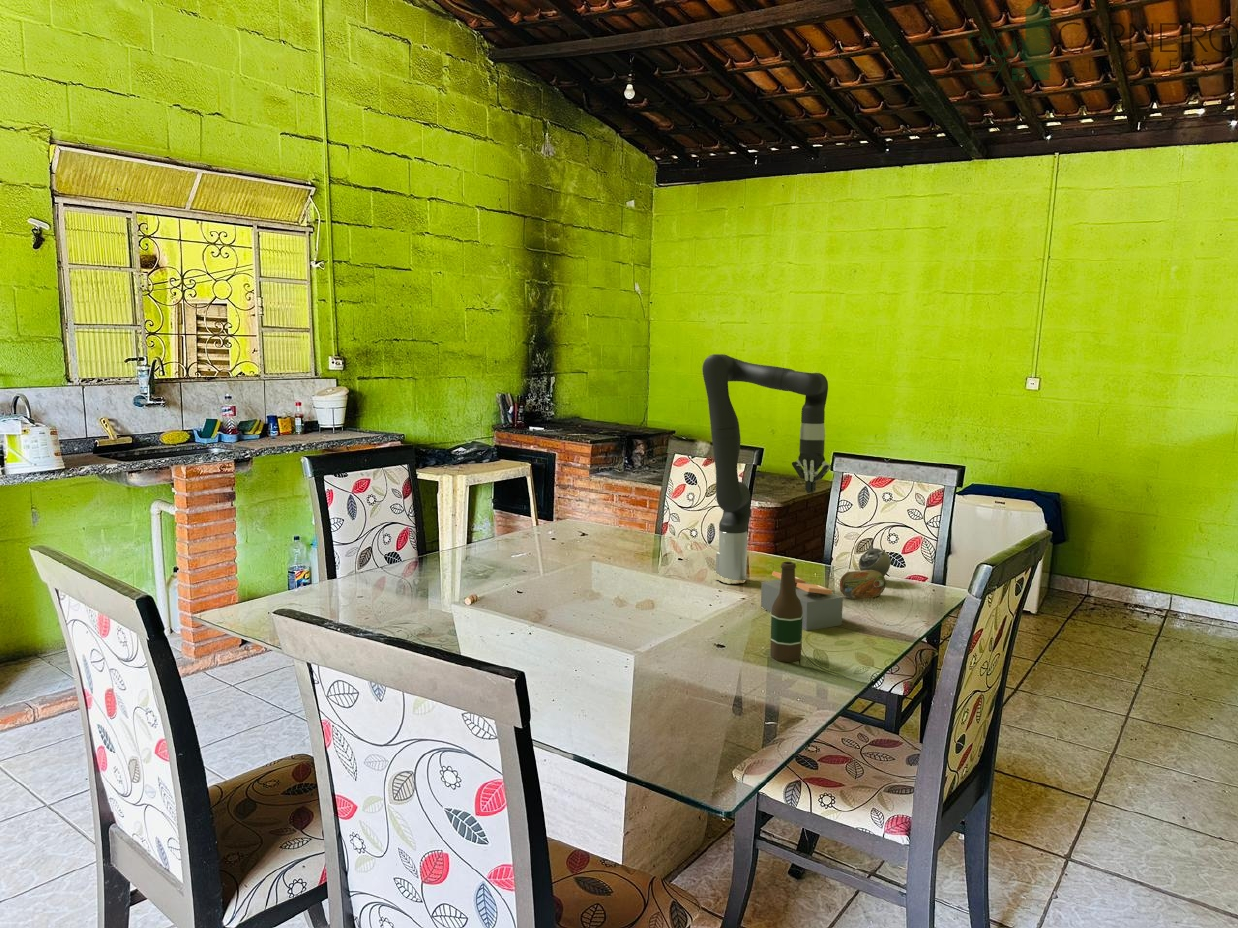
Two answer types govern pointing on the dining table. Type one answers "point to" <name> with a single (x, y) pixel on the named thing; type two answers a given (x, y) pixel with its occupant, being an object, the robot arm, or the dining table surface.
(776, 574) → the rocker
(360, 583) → the dining table surface
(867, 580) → the tin
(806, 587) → the orange flat board
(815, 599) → the switch box
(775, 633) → the beer bottle
